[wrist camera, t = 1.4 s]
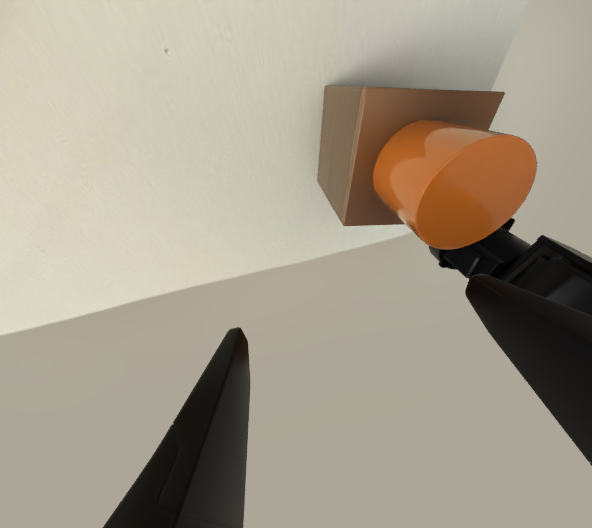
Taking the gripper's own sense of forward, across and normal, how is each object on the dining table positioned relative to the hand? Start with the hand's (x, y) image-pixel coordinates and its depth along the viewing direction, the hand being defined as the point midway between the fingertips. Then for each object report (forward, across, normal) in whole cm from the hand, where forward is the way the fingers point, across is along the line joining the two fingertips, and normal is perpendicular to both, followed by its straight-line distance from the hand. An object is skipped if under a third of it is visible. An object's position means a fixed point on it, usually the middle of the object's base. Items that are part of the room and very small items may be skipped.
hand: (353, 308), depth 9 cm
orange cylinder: (+5, -5, -3) cm, 7 cm away
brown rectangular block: (+12, -5, -3) cm, 14 cm away
